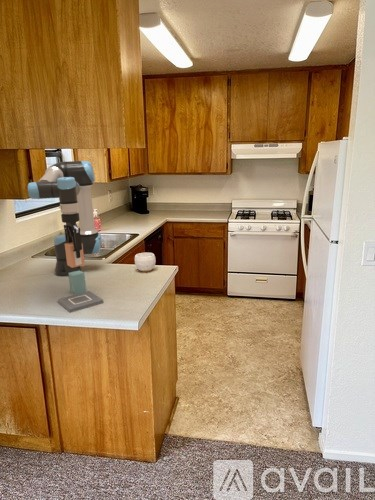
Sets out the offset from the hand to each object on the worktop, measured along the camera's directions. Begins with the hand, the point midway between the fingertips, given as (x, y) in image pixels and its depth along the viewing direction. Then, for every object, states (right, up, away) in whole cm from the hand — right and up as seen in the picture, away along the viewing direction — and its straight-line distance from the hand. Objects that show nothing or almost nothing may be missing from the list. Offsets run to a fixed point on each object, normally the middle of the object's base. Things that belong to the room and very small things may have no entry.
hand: (75, 263), depth 163 cm
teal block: (-5, -15, +19) cm, 25 cm away
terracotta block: (0, -1, 0) cm, 1 cm away
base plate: (+1, -19, +5) cm, 19 cm away
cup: (+26, -7, +50) cm, 57 cm away
